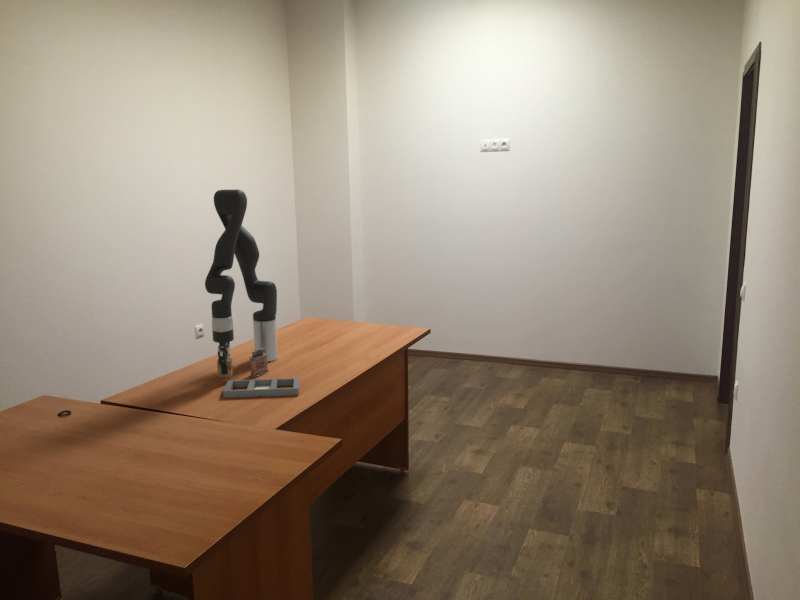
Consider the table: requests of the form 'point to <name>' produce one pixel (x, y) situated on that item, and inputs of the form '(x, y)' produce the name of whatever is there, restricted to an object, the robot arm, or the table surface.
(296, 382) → the grey compartment tray
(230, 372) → the wooden block
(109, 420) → the table surface
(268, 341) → the robot arm
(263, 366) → the lighter
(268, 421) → the table surface
